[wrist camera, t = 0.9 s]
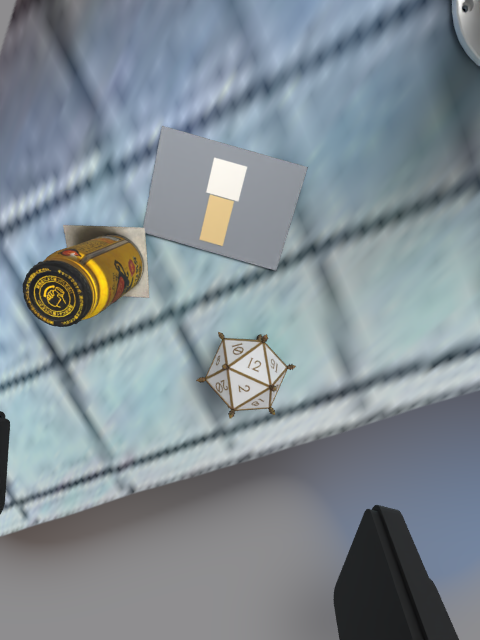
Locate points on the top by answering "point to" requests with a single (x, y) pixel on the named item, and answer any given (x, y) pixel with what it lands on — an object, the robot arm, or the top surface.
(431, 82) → the top surface
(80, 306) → the condiment
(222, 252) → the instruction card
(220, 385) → the game die
